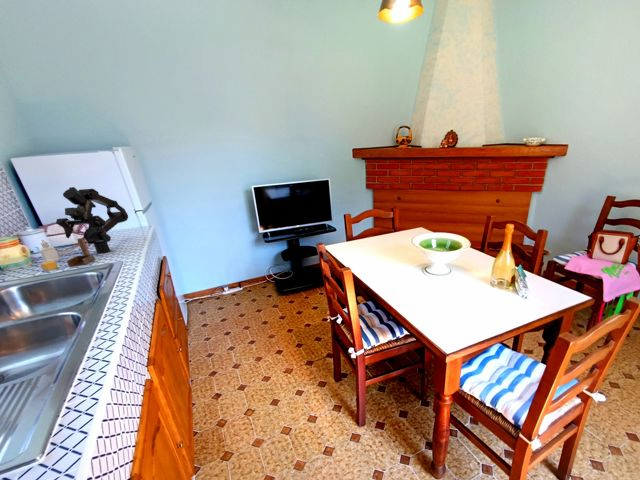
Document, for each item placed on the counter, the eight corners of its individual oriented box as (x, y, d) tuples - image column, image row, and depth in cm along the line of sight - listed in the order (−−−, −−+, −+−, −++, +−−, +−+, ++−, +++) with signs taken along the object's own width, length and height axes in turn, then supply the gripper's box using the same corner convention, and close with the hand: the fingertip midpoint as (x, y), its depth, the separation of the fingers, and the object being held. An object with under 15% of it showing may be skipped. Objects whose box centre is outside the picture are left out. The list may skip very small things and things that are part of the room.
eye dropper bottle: (60, 262, 153) (50, 239, 148) (45, 265, 149) (34, 242, 145) (60, 259, 156) (50, 238, 151) (45, 263, 152) (35, 240, 148)
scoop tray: (83, 261, 152) (73, 238, 148) (98, 259, 153) (89, 237, 149) (69, 268, 143) (59, 244, 139) (86, 266, 144) (76, 243, 140)
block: (39, 263, 139) (43, 271, 141) (45, 264, 138) (48, 272, 140) (50, 260, 143) (53, 268, 144) (55, 261, 142) (58, 269, 143)
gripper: (50, 202, 143) (42, 230, 137) (93, 199, 146) (86, 226, 140) (68, 215, 153) (61, 241, 147) (108, 212, 156) (103, 238, 150)
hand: (77, 236), depth 146 cm, fingers open, 9 cm apart
